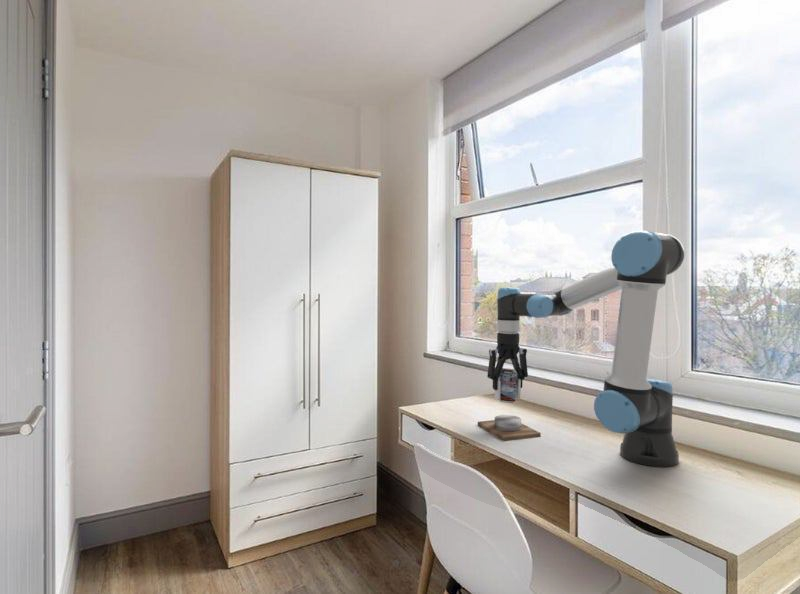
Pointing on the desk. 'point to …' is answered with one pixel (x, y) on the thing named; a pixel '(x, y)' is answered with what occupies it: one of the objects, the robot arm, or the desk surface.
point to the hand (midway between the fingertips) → (507, 398)
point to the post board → (509, 434)
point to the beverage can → (508, 385)
